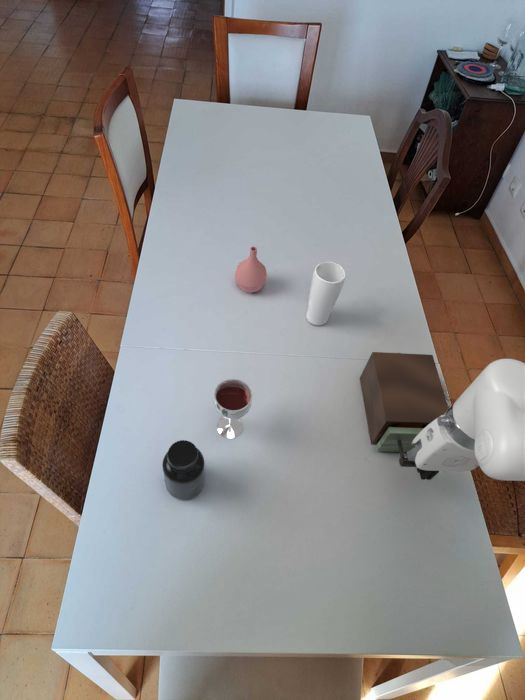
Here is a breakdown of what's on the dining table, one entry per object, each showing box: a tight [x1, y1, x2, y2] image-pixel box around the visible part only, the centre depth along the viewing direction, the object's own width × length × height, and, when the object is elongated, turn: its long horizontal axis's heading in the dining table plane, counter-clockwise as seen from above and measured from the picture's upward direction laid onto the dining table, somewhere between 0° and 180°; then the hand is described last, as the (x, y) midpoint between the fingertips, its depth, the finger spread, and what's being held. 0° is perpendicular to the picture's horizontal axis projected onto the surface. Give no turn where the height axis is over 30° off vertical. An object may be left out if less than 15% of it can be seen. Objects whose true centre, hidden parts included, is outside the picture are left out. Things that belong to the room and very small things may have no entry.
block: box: [392, 423, 424, 428], centre depth 89 cm, size 4×4×4 cm
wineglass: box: [213, 378, 253, 440], centre depth 84 cm, size 7×7×12 cm
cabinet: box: [359, 351, 450, 445], centre depth 91 cm, size 16×13×10 cm
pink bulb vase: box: [234, 246, 268, 293], centre depth 107 cm, size 8×8×12 cm
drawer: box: [375, 423, 428, 468], centre depth 88 cm, size 20×11×8 cm, turn 1°
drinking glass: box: [305, 261, 347, 327], centre depth 102 cm, size 7×7×15 cm
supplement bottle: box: [162, 439, 206, 501], centre depth 76 cm, size 7×7×12 cm
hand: (423, 471), depth 80 cm, fingers closed
